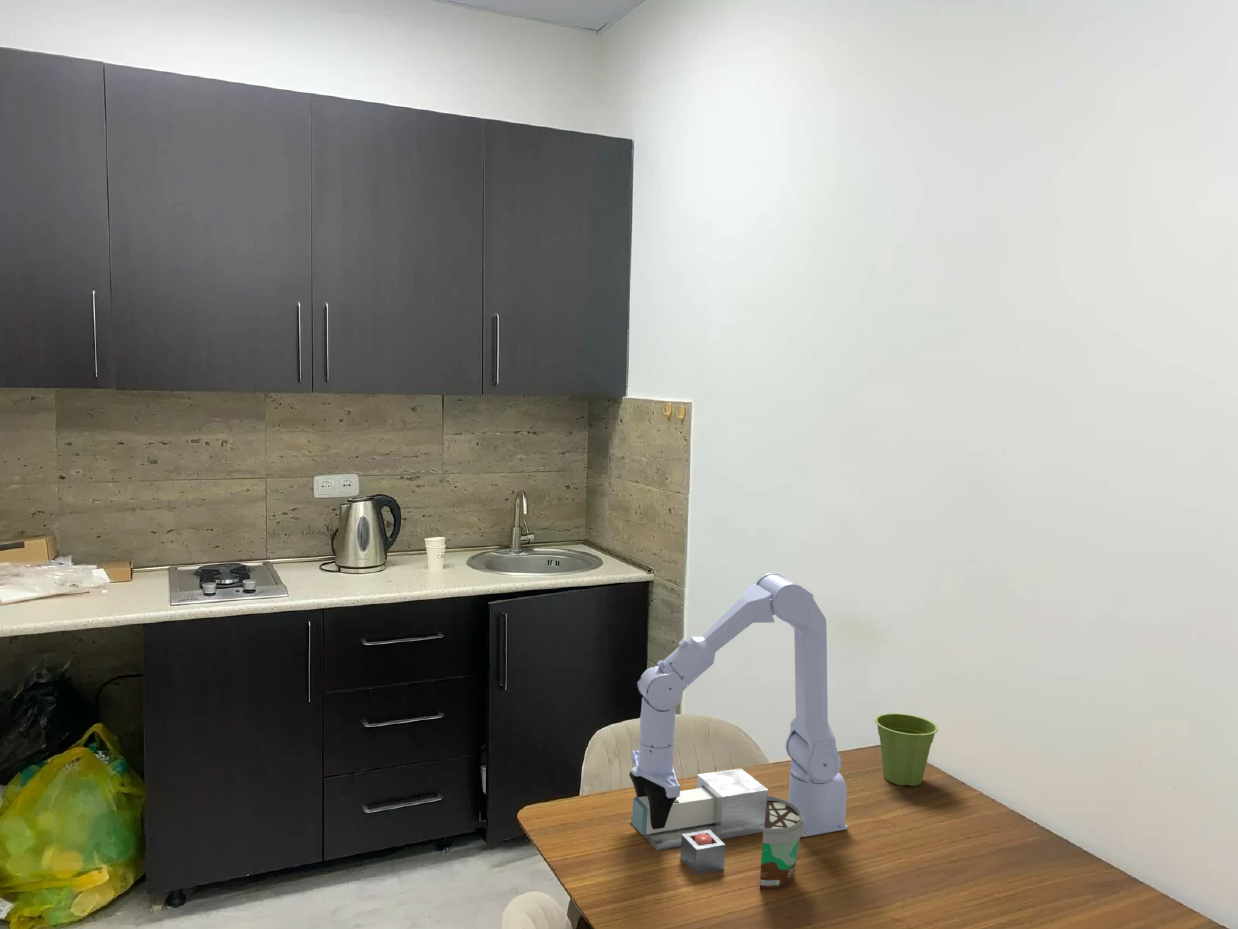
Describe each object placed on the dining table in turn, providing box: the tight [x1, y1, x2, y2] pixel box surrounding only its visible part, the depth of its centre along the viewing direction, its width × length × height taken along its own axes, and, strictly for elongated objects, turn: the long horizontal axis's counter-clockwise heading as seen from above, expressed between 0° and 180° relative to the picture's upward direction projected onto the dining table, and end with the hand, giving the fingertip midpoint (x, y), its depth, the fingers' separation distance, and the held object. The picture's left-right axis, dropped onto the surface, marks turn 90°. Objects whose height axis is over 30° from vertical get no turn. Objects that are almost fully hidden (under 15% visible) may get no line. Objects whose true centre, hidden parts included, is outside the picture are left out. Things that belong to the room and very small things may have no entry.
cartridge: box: [631, 787, 717, 836], centre depth 150 cm, size 14×4×5 cm, turn 113°
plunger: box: [695, 834, 712, 846], centre depth 140 cm, size 3×3×4 cm
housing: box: [630, 767, 769, 851], centre depth 152 cm, size 21×10×7 cm, turn 113°
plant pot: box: [874, 712, 939, 787], centre depth 175 cm, size 12×12×11 cm
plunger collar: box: [679, 830, 726, 876], centre depth 140 cm, size 5×5×4 cm
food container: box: [759, 794, 805, 891], centre depth 137 cm, size 12×6×10 cm, turn 168°
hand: (652, 821), depth 149 cm, fingers closed on cartridge, 4 cm apart
